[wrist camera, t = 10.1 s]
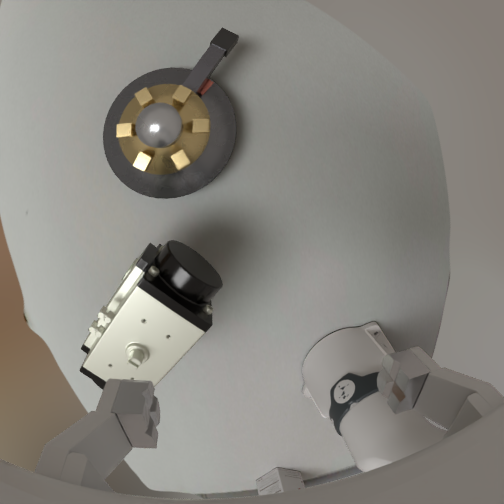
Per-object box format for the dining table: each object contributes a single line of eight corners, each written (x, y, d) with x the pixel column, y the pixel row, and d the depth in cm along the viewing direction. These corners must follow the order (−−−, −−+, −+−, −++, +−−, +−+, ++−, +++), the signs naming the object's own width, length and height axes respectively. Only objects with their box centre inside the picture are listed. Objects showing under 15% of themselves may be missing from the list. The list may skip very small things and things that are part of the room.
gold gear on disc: (259, 123, 35) (277, 112, 26) (181, 219, 37) (172, 239, 28) (164, 53, 30) (152, 23, 21) (88, 150, 32) (55, 149, 23)
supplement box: (301, 471, 61) (315, 513, 47) (278, 484, 63) (290, 525, 49) (277, 466, 59) (289, 513, 45) (254, 480, 60) (263, 524, 46)
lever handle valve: (182, 188, 33) (178, 192, 29) (111, 150, 30) (98, 149, 26) (264, 59, 29) (271, 47, 25) (193, 23, 26) (192, 8, 22)
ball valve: (169, 210, 37) (139, 253, 20) (220, 249, 39) (230, 318, 22) (101, 305, 39) (57, 384, 22) (147, 337, 42) (126, 425, 25)
